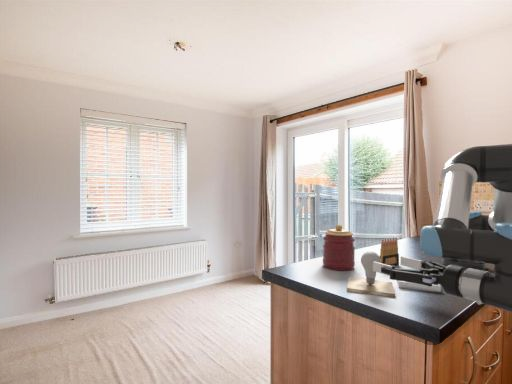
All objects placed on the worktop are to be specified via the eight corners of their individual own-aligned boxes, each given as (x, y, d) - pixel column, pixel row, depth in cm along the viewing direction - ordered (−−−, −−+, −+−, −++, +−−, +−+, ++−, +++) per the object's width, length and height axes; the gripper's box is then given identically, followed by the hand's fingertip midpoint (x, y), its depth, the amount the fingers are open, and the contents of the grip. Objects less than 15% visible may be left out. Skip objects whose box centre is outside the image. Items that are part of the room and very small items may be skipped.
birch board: (391, 284, 99) (391, 282, 99) (395, 297, 88) (395, 293, 88) (348, 280, 104) (348, 277, 104) (346, 291, 93) (346, 287, 93)
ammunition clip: (382, 268, 120) (383, 239, 119) (378, 267, 121) (379, 238, 121) (399, 265, 125) (399, 237, 125) (395, 264, 126) (395, 236, 126)
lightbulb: (357, 282, 99) (357, 249, 99) (374, 281, 99) (375, 249, 99) (365, 288, 93) (366, 253, 92) (384, 287, 93) (384, 253, 93)
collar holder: (432, 281, 103) (432, 275, 103) (440, 292, 92) (440, 286, 92) (395, 277, 108) (395, 271, 108) (398, 287, 96) (399, 281, 96)
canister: (360, 266, 122) (360, 224, 122) (346, 273, 112) (346, 227, 112) (331, 261, 131) (332, 222, 131) (316, 266, 121) (317, 224, 121)
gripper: (438, 308, 65) (360, 281, 84) (487, 289, 78) (411, 269, 96) (439, 275, 65) (361, 255, 84) (488, 261, 78) (411, 247, 96)
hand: (387, 263), depth 90 cm, fingers open, 13 cm apart
